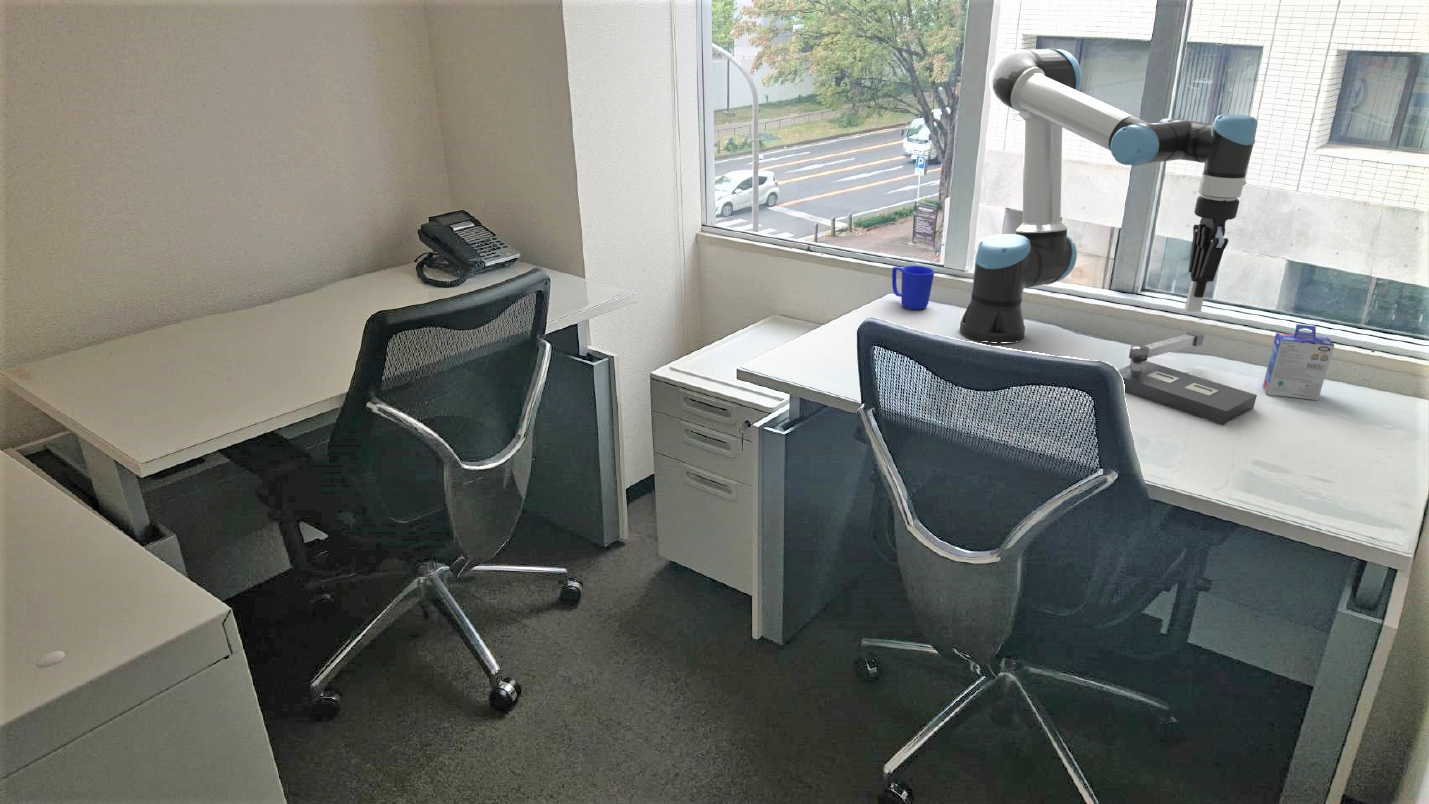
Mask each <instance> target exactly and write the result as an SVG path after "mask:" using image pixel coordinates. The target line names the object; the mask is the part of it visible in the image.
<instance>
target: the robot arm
mask: <svg viewBox="0 0 1429 804" xmlns="http://www.w3.org/2000/svg"><path fill="white" fill-rule="evenodd" d="M988 81H989V82H988V84H989V88H990V92H991V93H992V95H993V97H994V98H995V99H996V100H997V102H1000V103H1001V104H1003V105H1005V106H1007V107H1009V108H1011V109H1012V110H1015V111H1016V114H1017V115H1019V117H1021V118H1022V120H1023V130H1022V131H1023V140H1022V142H1023V144H1022V145H1023V147H1022V148H1023V149H1022V150H1023V151H1022V152H1023V155H1022V156H1023V157H1022V159H1023V162H1022V167H1023V168H1022V223H1021V224H1020V225H1019V227H1017V228H1016V229H1015V230H1016V231H1015V234H1014V233H1006V234H1002V233H1000V234H993V235H990V236H987V237H985V238H983V239H982V240H981V241H980V242H979V244H978V248H977V252H976V254H975V258H974V259H975V263H974V264H975V265H974V270H973V271H974V273H973V281H972V290H971V295H970V296H971V297H970V301H969V303H968V305H967V307H966V310H965V312H964V313H963V316H962V317H961V319H960V325H959V333H960V334H961V335H963V336H964V337H965V338H968V339H970V340H973V341H976V342H981V341H988V342H997V343H1001V342H1015V343H1017V342H1016V341H1018V342H1020V341H1022V340H1024V337H1025V331H1026V327H1025V323H1024V315H1023V309H1022V302H1023V300H1022V299H1023V294H1024V289H1028V288H1032V287H1037V286H1043V285H1046V286H1047V285H1051V284H1054V283H1056V282H1059V281H1062V280H1064V279H1065V278H1067V276H1068V275H1070V273H1072V272H1073V269H1074V268H1075V265H1076V263H1077V258H1078V252H1077V251H1078V250H1077V246H1076V243H1075V242H1073V239H1072V237H1070V236H1069V235H1068V227H1067V226H1066V224H1064V223H1063V222H1062V220H1061V219H1062V218H1061V217H1062V215H1061V211H1062V209H1061V207H1062V205H1061V204H1062V161H1063V159H1062V158H1063V157H1062V156H1063V155H1062V154H1063V147H1062V146H1063V129H1065V130H1068V131H1069V132H1071V133H1073V134H1075V135H1078V136H1080V137H1082V138H1084V139H1086V140H1088V141H1090V142H1092V143H1093V144H1096V145H1097V146H1100V147H1102V148H1103V149H1106V150H1108V151H1110V152H1111V153H1110V154H1111V155H1112V156H1113V158H1114V160H1115V161H1116V162H1117V163H1119V164H1121V165H1124V166H1142V165H1146V164H1153V163H1161V162H1171V161H1176V160H1181V161H1183V160H1184V161H1190V162H1195V163H1196V162H1197V163H1200V164H1201V163H1202V164H1203V163H1204V167H1203V171H1202V175H1201V177H1200V184H1199V187H1198V193H1199V194H1200V195H1199V196H1198V197H1196V198H1197V199H1196V203H1195V207H1194V211H1193V213H1194V215H1195V216H1197V217H1198V218H1199V217H1200V221H1199V224H1193V227H1192V233H1193V234H1192V235H1193V236H1192V243H1191V251H1190V258H1189V265H1188V273H1190V278H1191V279H1190V284H1189V288H1188V293H1187V297H1186V301H1185V305H1184V310H1185V311H1186V312H1197V313H1198V312H1199V313H1201V311H1202V307H1203V304H1204V299H1205V296H1206V295H1205V294H1206V290H1207V286H1208V283H1209V282H1214V279H1215V277H1216V274H1217V271H1218V268H1219V266H1220V262H1221V260H1222V257H1223V253H1224V251H1225V249H1226V248H1227V246H1228V244H1229V238H1225V234H1226V222H1227V221H1228V220H1234V219H1235V218H1236V217H1237V213H1238V210H1239V205H1240V200H1239V199H1238V198H1240V197H1241V196H1242V193H1243V192H1242V191H1243V188H1244V186H1246V184H1247V181H1246V180H1245V179H1246V174H1247V171H1248V167H1249V162H1250V159H1251V155H1252V151H1253V147H1254V145H1255V143H1256V133H1257V128H1258V120H1257V119H1256V118H1255V117H1253V116H1250V115H1246V114H1245V115H1243V114H1231V113H1229V114H1225V113H1224V114H1219V115H1217V116H1216V117H1215V119H1214V122H1213V123H1208V122H1207V123H1206V122H1200V121H1193V120H1192V121H1191V120H1185V119H1183V118H1162V119H1161V120H1159V121H1158V122H1155V123H1151V122H1147V121H1145V120H1143V119H1140V118H1138V117H1136V116H1133V115H1132V114H1130V113H1127V112H1125V111H1123V110H1121V109H1118V108H1116V107H1114V106H1112V105H1110V104H1107V103H1105V102H1103V101H1101V100H1099V99H1096V98H1094V97H1092V96H1090V95H1087V94H1085V93H1083V92H1080V91H1078V90H1079V88H1080V85H1081V82H1082V72H1081V67H1080V64H1079V62H1078V60H1077V59H1076V57H1075V56H1073V54H1072V53H1071V52H1068V51H1067V50H1064V49H1058V48H1057V49H1056V48H1040V49H1015V50H1012V51H1009V52H1006V53H1004V54H1003V55H1001V56H1000V57H999V58H998V59H997V60H996V62H995V63H994V64H993V66H992V68H991V70H990V73H989V80H988ZM981 343H982V342H981ZM984 343H987V342H984ZM987 344H988V343H987Z"/></svg>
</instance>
